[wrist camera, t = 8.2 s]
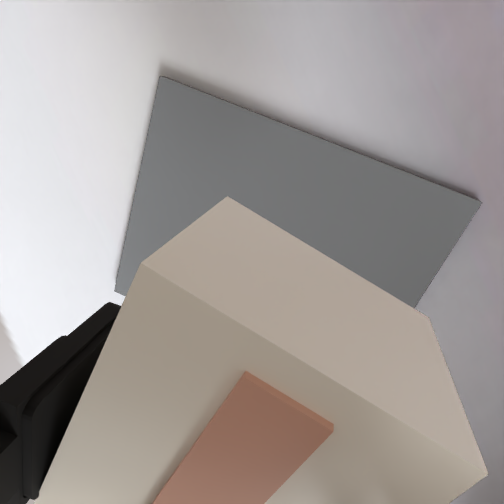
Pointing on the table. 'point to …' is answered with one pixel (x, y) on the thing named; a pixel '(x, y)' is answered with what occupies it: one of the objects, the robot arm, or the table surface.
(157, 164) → the mat
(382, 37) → the table surface
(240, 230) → the card box
